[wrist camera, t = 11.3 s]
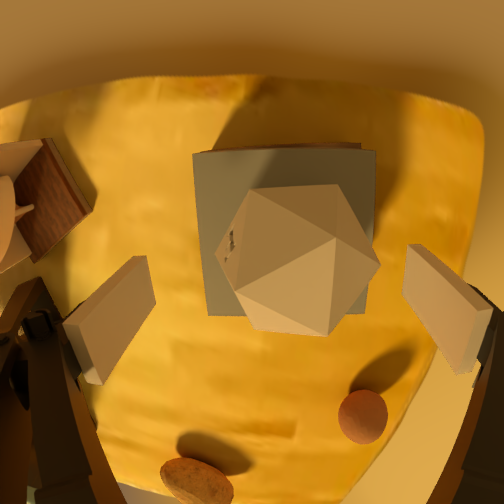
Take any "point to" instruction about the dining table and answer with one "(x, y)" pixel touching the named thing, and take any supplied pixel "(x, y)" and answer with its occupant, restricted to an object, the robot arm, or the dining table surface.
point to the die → (296, 258)
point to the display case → (35, 201)
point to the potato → (196, 482)
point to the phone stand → (27, 306)
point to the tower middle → (269, 176)
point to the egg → (363, 416)
